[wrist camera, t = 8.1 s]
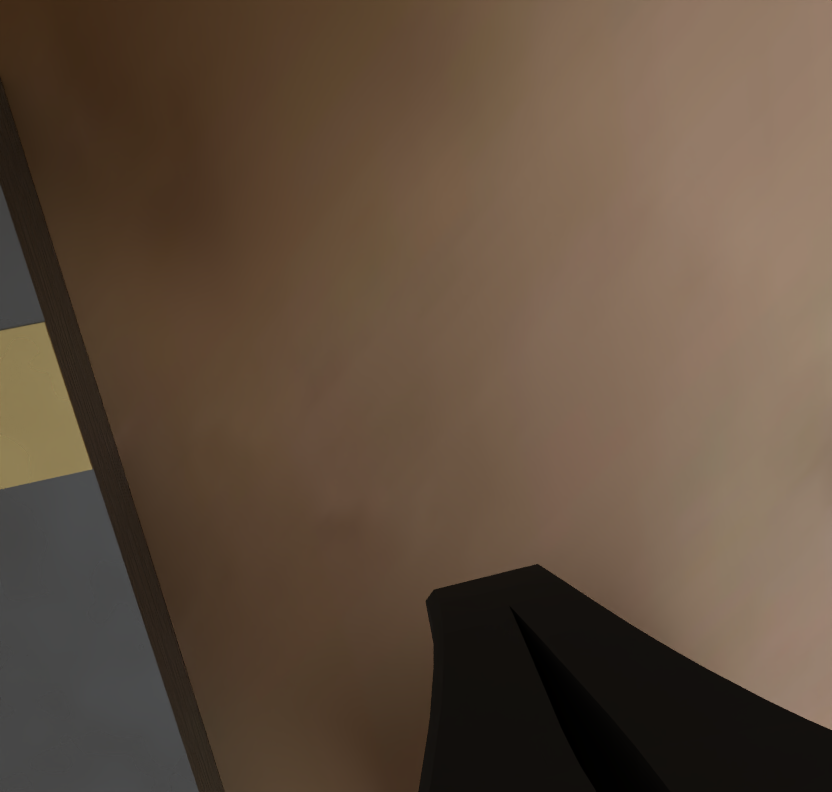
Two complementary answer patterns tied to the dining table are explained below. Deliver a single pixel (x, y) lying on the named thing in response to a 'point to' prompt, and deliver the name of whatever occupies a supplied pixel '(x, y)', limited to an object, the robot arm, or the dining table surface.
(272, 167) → the dining table surface
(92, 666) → the console
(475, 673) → the robot arm
